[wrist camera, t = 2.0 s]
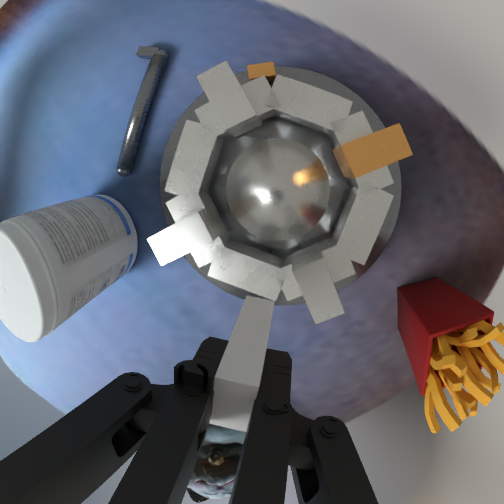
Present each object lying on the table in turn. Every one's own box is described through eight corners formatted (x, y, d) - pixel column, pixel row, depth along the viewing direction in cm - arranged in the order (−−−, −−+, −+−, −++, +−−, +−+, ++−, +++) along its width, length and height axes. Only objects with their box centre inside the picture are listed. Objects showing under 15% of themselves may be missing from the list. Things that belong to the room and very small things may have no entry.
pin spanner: (132, 177, 26) (124, 178, 24) (107, 170, 26) (98, 171, 24) (173, 52, 22) (167, 47, 20) (145, 50, 22) (138, 45, 20)
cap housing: (152, 248, 28) (121, 267, 22) (213, 56, 21) (193, 30, 16) (337, 317, 27) (346, 352, 21) (415, 129, 21) (447, 121, 15)
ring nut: (162, 244, 24) (127, 266, 18) (218, 69, 19) (195, 40, 13) (331, 307, 23) (341, 347, 18) (402, 136, 18) (437, 127, 13)
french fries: (388, 280, 25) (457, 380, 11) (455, 263, 24) (544, 335, 9) (389, 351, 27) (431, 456, 13) (450, 332, 26) (510, 418, 12)
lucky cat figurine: (280, 397, 31) (294, 501, 21) (258, 419, 39) (267, 498, 29) (154, 394, 28) (153, 505, 18) (163, 417, 36) (163, 499, 26)
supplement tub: (71, 198, 27) (-31, 226, 13) (135, 188, 26) (20, 214, 12) (84, 277, 30) (-1, 333, 16) (148, 279, 29) (60, 356, 15)
